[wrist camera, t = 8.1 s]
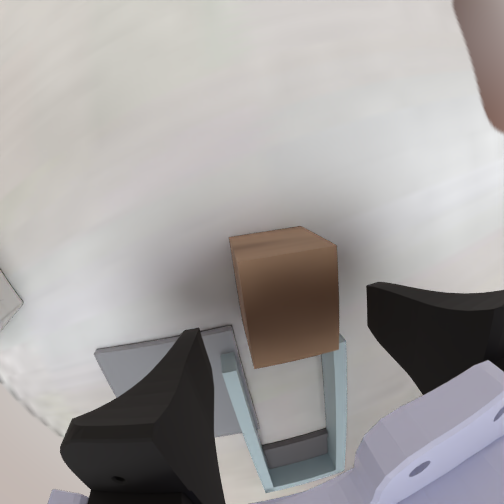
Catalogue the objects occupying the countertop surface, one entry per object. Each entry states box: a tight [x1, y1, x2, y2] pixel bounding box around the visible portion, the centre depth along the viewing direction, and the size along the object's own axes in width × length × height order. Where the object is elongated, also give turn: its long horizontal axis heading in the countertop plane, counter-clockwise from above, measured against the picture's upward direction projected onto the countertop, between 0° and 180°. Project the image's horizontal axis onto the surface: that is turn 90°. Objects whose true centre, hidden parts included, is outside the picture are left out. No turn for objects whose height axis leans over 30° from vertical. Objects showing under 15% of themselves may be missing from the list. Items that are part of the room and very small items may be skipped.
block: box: [229, 226, 339, 369], centre depth 14 cm, size 5×4×5 cm
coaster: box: [94, 326, 259, 438], centre depth 18 cm, size 9×9×1 cm
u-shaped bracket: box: [221, 333, 347, 493], centre depth 18 cm, size 15×7×2 cm, turn 11°
